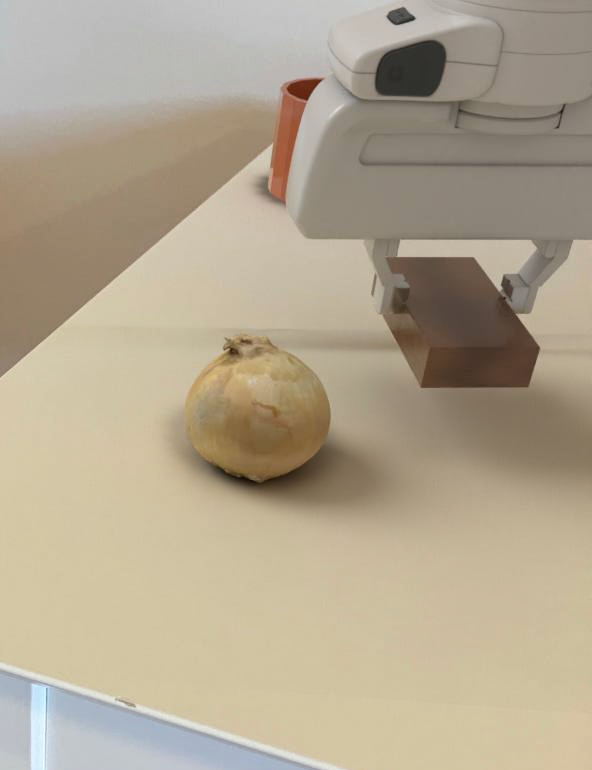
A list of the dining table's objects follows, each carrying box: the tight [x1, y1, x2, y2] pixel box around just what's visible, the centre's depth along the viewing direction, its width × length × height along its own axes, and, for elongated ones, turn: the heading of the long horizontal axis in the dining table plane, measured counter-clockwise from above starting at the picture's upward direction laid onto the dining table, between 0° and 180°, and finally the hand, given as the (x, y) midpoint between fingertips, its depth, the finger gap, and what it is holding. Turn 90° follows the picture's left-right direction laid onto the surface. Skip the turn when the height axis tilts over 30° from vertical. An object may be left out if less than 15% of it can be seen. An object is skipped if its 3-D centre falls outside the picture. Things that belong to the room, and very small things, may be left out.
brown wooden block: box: [370, 256, 541, 389], centre depth 64 cm, size 6×12×2 cm, turn 3°
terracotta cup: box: [267, 76, 326, 203], centre depth 90 cm, size 8×8×9 cm
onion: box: [183, 333, 332, 484], centre depth 60 cm, size 8×8×7 cm
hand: (449, 310), depth 64 cm, fingers closed on brown wooden block, 6 cm apart
